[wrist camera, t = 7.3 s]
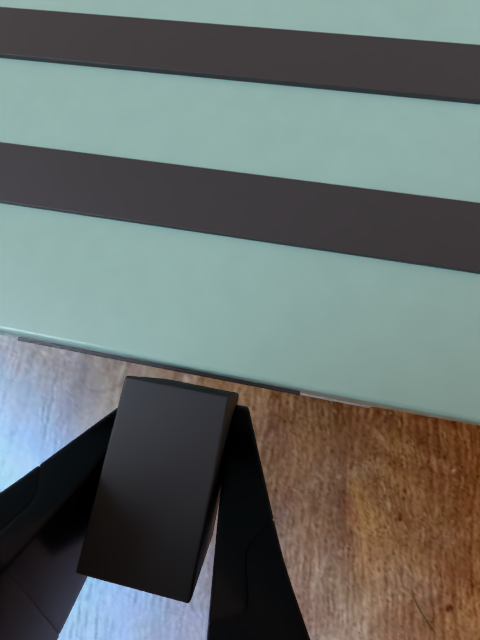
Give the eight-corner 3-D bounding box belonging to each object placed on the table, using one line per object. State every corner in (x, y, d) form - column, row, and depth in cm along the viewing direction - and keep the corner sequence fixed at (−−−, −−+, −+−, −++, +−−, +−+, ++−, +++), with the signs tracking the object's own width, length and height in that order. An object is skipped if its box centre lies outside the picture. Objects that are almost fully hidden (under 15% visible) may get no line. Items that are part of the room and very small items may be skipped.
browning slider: (212, 535, 9) (189, 605, 6) (132, 515, 9) (74, 574, 6) (239, 393, 10) (229, 396, 7) (164, 378, 10) (124, 374, 7)
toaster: (364, 407, 16) (644, 463, 4) (66, 349, 18) (-319, 275, 6) (383, 239, 18) (620, -48, 6) (110, 200, 20) (-122, -84, 8)
